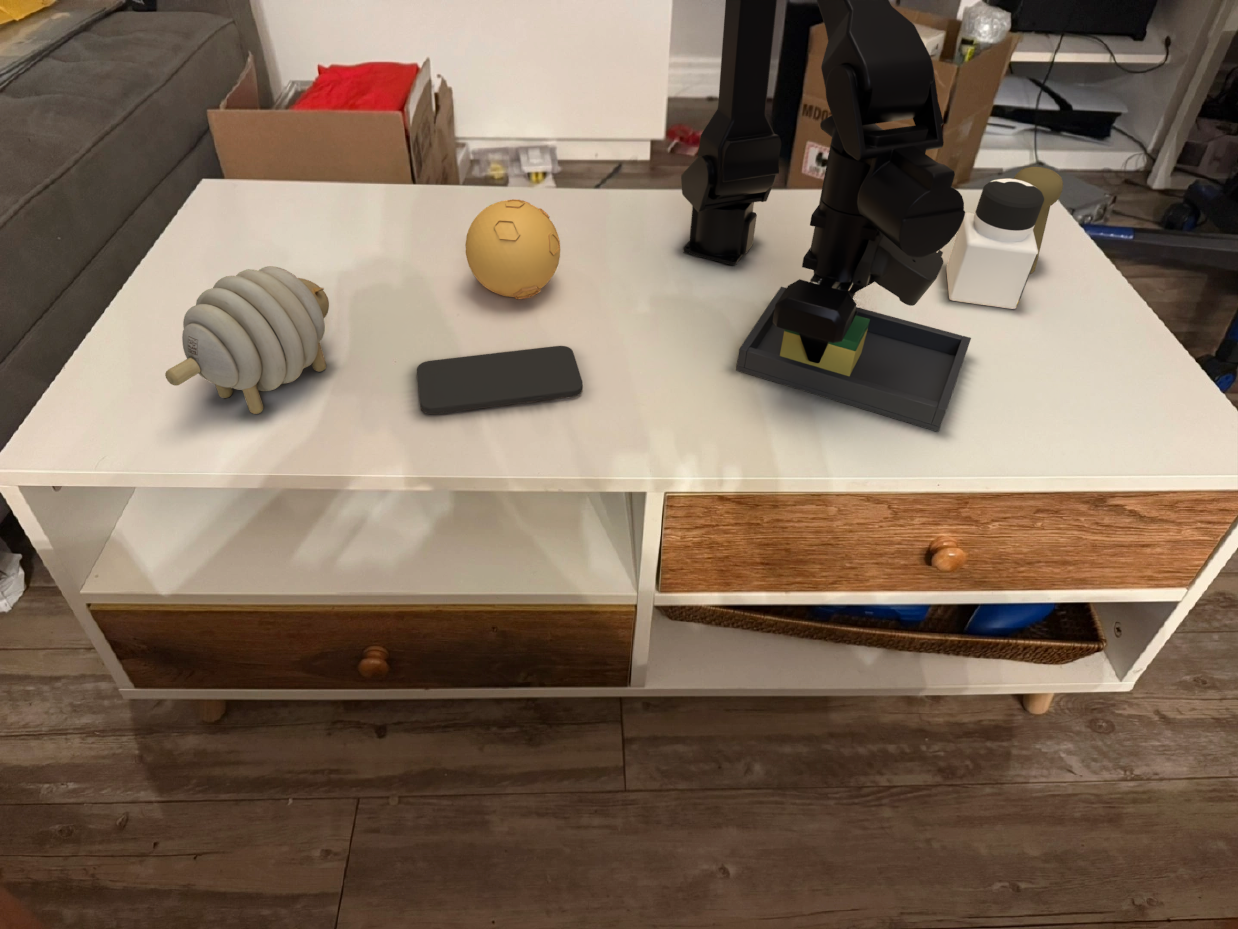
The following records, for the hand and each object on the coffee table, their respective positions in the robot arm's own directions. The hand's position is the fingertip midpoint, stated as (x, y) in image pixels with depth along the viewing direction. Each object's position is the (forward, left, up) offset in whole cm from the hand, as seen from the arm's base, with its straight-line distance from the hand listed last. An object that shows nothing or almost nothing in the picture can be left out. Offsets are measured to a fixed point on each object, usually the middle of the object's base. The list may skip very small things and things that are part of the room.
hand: (821, 348), depth 87 cm
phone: (-26, -18, -2) cm, 31 cm away
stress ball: (-33, -3, -2) cm, 33 cm away
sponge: (0, 0, -1) cm, 1 cm away
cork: (+14, +29, -2) cm, 33 cm away
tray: (+3, +1, -2) cm, 4 cm away
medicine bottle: (+12, +22, -2) cm, 25 cm away
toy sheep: (-45, -28, -2) cm, 53 cm away
